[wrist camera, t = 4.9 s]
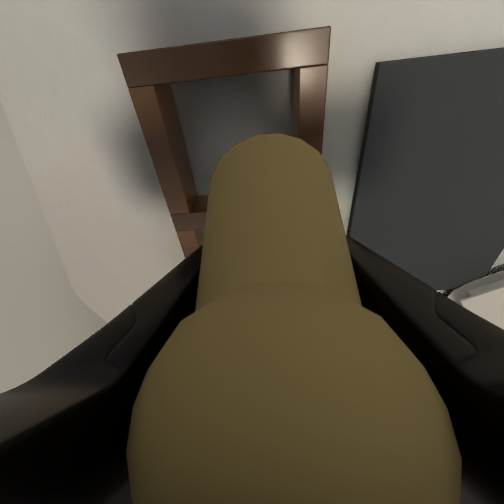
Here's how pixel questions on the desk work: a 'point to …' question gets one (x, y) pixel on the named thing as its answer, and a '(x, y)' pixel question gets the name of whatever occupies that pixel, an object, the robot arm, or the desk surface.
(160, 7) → the desk surface
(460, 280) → the mat
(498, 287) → the book
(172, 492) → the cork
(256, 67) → the brown wooden frame
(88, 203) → the desk surface
